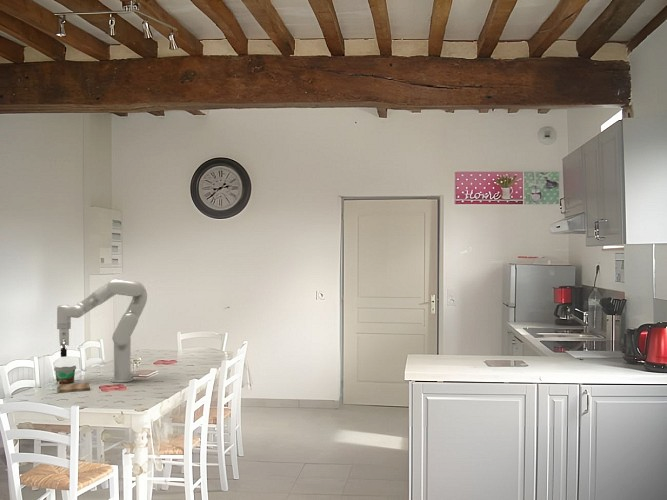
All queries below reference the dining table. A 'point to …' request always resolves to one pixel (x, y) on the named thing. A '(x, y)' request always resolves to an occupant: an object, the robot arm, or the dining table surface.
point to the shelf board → (72, 387)
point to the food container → (65, 374)
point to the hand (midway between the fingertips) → (63, 355)
